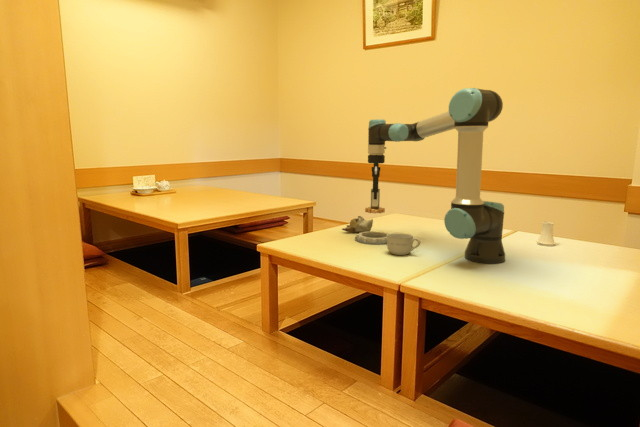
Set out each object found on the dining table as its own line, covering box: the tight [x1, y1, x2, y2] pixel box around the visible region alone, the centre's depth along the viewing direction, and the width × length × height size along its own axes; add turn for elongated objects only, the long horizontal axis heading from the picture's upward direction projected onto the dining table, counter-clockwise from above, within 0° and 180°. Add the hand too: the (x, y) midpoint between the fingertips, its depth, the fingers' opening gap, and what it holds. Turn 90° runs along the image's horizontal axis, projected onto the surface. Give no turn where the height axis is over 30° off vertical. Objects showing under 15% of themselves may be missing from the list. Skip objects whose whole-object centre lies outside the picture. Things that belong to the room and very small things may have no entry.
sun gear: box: [364, 188, 386, 214], centre depth 202 cm, size 9×9×10 cm
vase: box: [536, 221, 556, 247], centre depth 197 cm, size 8×8×10 cm
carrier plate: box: [354, 230, 389, 246], centre depth 205 cm, size 18×18×2 cm
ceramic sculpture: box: [341, 215, 374, 233], centre depth 221 cm, size 11×9×15 cm
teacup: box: [386, 232, 421, 256], centre depth 180 cm, size 14×11×8 cm
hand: (375, 205), depth 202 cm, fingers closed on sun gear, 4 cm apart
